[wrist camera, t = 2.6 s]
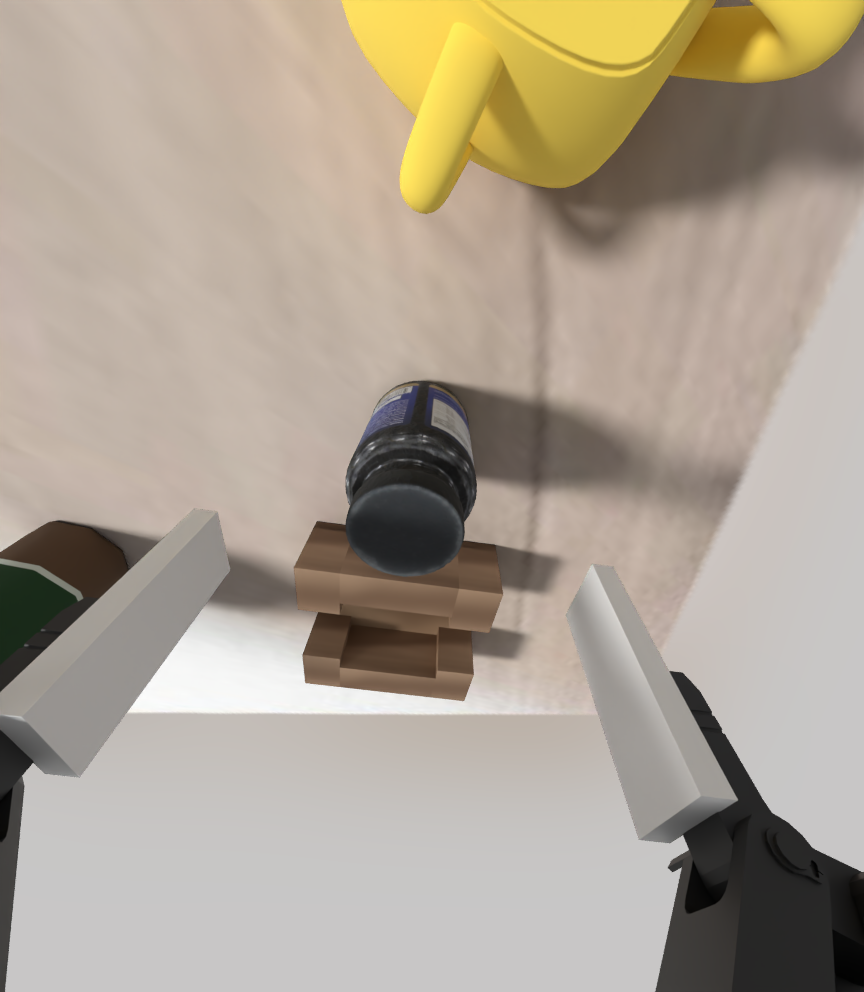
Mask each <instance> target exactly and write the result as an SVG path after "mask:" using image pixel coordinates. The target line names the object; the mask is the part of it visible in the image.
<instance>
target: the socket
mask: <svg viewBox="0 0 864 992" xmlns="http://www.w3.org/2000/svg"><path fill="white" fill-rule="evenodd" d="M294 575H295V585H296V595H297V605H298V610H306V611H314V612H318V614H317V617H316V620H315V622H314V625H313V628H312V631H311V633H310V636H309V639H308V641H307V644H306V647H305V649H304V652H303V665H304V675H305V683H310V684H318V685H327V686H336V687H345V688H354V689H363V690H371V691H380V692H389V693H398V694H407V695H416V696H424V697H433V698H442V699H451V700H460V701H464V700H465V697H466V695H467V692H468V689H469V686H470V684H471V681H472V678H473V675H474V671H473V654H472V638H471V631H478V632H486V633H489V632H490V629H491V626H492V623H493V621H494V618H495V615H496V613H497V610H498V607H499V604H500V602H501V599H502V596H503V590H502V584H501V578H500V572H499V566H498V560H497V553H496V547H495V545H490V544H483V543H475V542H468V541H463V543H462V546H461V548H460V550H459V552H458V553H457V555H456V556H455V557H454V559H453V560H452V561H451V562H450V563H448V564H446V565H445V566H444V567H443V568H441V569H439V570H437V571H435V572H432V573H429V574H426V575H421V576H408V577H403V576H396V575H391V574H388V573H384V572H381V571H378V570H377V569H374V568H373V567H371V566H369V565H368V564H366V563H365V562H364V561H362V560H361V559H360V557H358V556H357V554H356V553H355V552H354V551H353V549H352V548H351V546H350V544H349V542H348V539H347V536H346V528H345V525H340V524H333V523H325V522H318V521H317V522H316V524H315V526H314V528H313V530H312V532H311V534H310V536H309V538H308V540H307V542H306V544H305V546H304V548H303V550H302V552H301V554H300V556H299V558H298V560H297V562H296V564H295V566H294Z"/></svg>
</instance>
